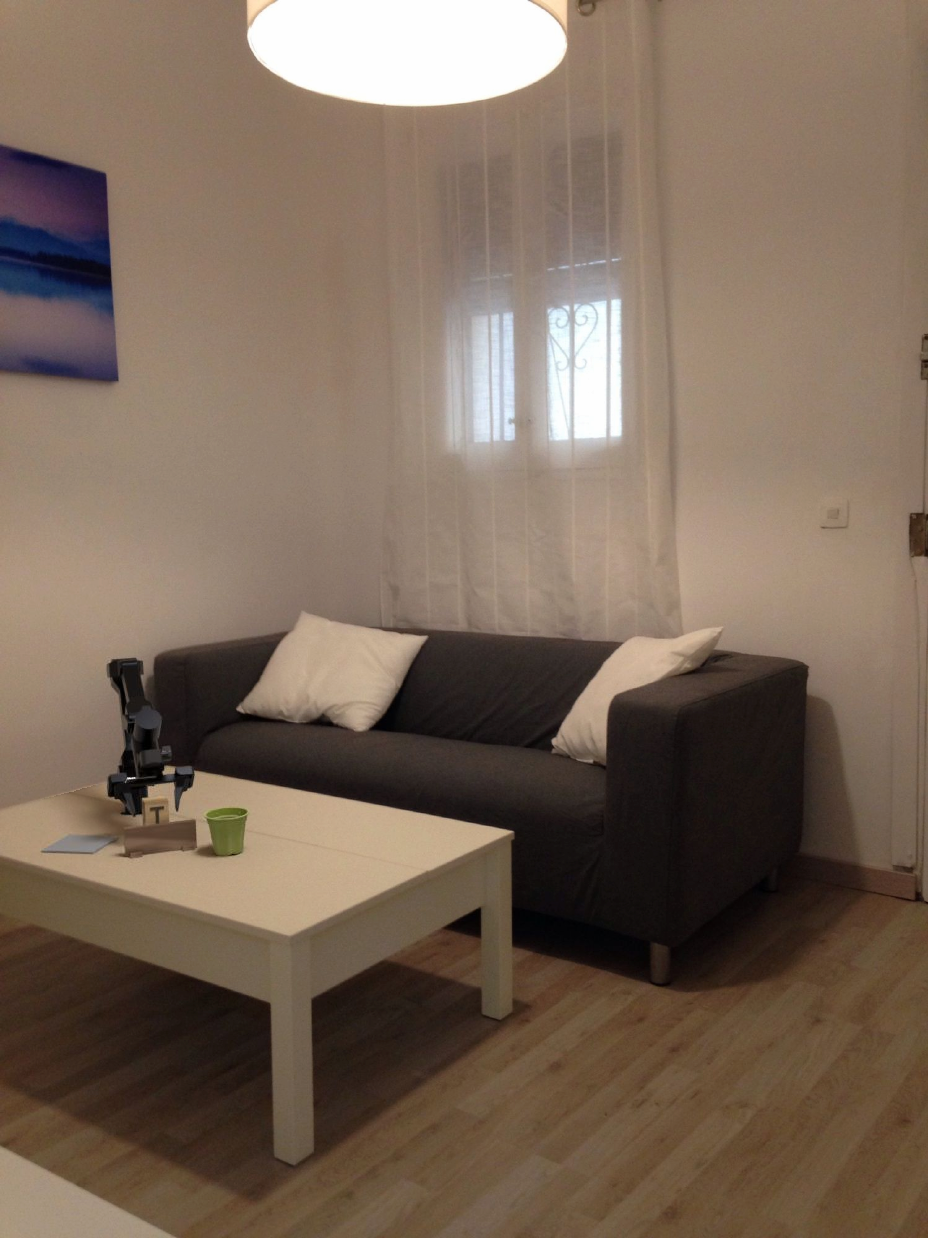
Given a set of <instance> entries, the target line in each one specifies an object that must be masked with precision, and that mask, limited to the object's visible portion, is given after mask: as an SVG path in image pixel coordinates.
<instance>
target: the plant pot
mask: <svg viewBox="0 0 928 1238" xmlns="http://www.w3.org/2000/svg"><path fill="white" fill-rule="evenodd" d="M249 810H250V809H248V808H245V807H241V806H240V807H239V806H228V807H227V806H225V807H218V808H214V809H210V810H208V811H206V812H205V813H204V815H203V816H204V818H205V819H206V822H207V823H206V824H207V825H208V828H209V833H210V837H211V843H212V849H213V853H215V855H217V856H225V857H227V856H228V857H229V856H231V855H232V854H235V855H238V854H240V853H241V852H243V851H244V842H245V841H244V840H245V832H246V831H245V830H246V822H247V819H248V816H249V814H250V811H249Z"/></svg>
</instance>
